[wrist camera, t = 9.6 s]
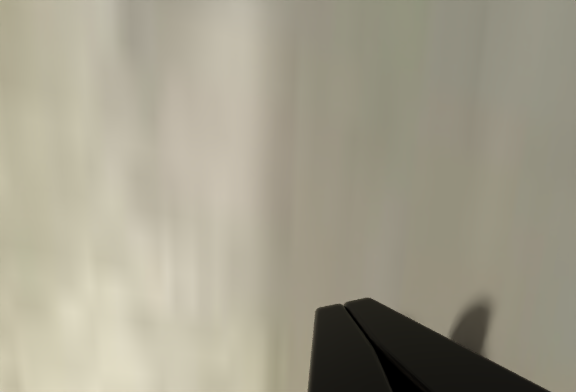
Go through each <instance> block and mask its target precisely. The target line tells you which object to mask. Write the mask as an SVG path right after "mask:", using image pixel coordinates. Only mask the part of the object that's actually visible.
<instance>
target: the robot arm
mask: <svg viewBox="0 0 576 392" xmlns="http://www.w3.org/2000/svg"><path fill="white" fill-rule="evenodd" d="M308 392H550V391H548V390H546V389H544V388H543V387H541V386H539V385H537V384H535V383H533V382H531V381H529V380H527V379H525V378H523V377H521V376H519V375H518V374H516V373H514V372H512V371H510V370H508V369H506V368H504V367H502V366H500V365H498V364H496V363H495V362H493V361H491V360H489V359H487V358H485V357H483V356H481V355H479V354H477V353H475V352H473V351H471V350H470V349H468V348H466V347H464V346H462V345H460V344H458V343H456V342H454V341H452V340H450V339H448V338H446V337H445V336H443V335H441V334H439V333H437V332H435V331H433V330H431V329H429V328H427V327H425V326H423V325H421V324H420V323H418V322H416V321H414V320H412V319H410V318H408V317H406V316H404V315H402V314H400V313H398V312H396V311H395V310H393V309H391V308H389V307H387V306H385V305H383V304H381V303H379V302H377V301H375V300H373V299H371V298H363V299H358V300H353V301H349V302H346V303H345V304H344V305H342V304H334V305H330V306H325V307H320V308H318V309H316V311H315V320H314V330H313V340H312V351H311V361H310V372H309V382H308Z"/></svg>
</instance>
